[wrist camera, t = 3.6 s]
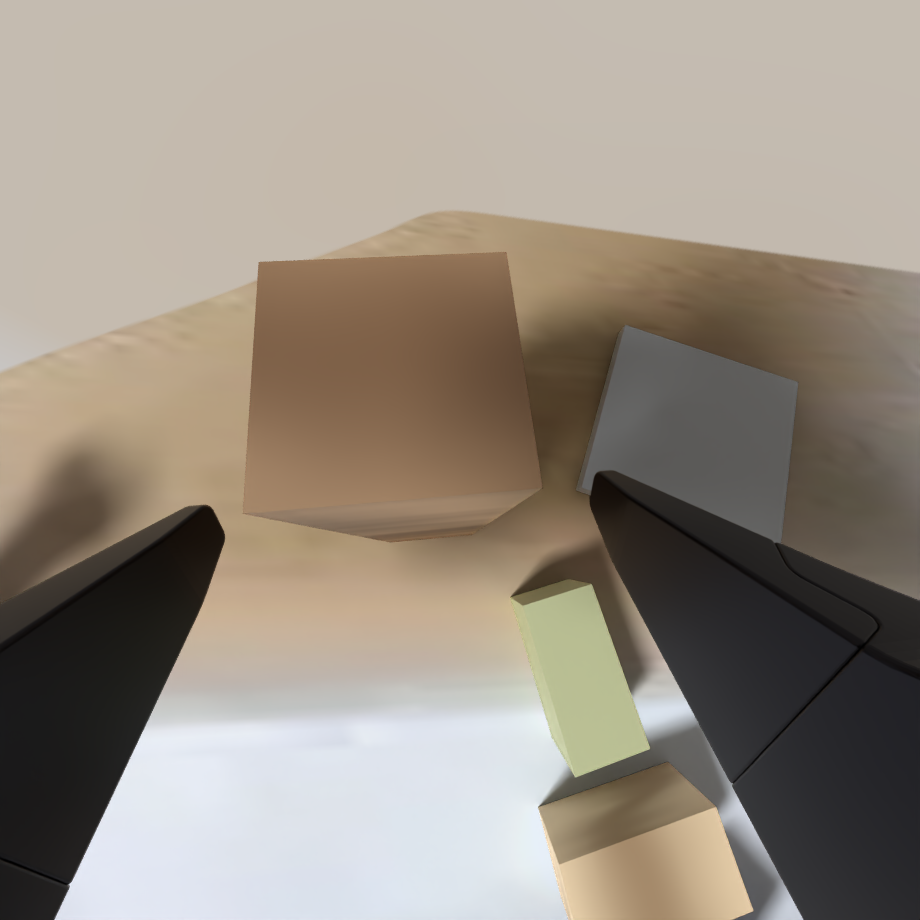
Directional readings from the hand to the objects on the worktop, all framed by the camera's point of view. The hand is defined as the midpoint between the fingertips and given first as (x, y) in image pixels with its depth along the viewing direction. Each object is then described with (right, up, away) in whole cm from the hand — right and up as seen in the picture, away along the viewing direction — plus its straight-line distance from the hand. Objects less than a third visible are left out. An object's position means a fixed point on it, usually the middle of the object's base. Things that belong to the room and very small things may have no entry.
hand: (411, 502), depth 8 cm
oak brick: (+8, -14, +6) cm, 17 cm away
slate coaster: (+13, +2, +11) cm, 18 cm away
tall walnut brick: (0, -1, +9) cm, 9 cm away
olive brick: (+6, -8, +8) cm, 13 cm away
